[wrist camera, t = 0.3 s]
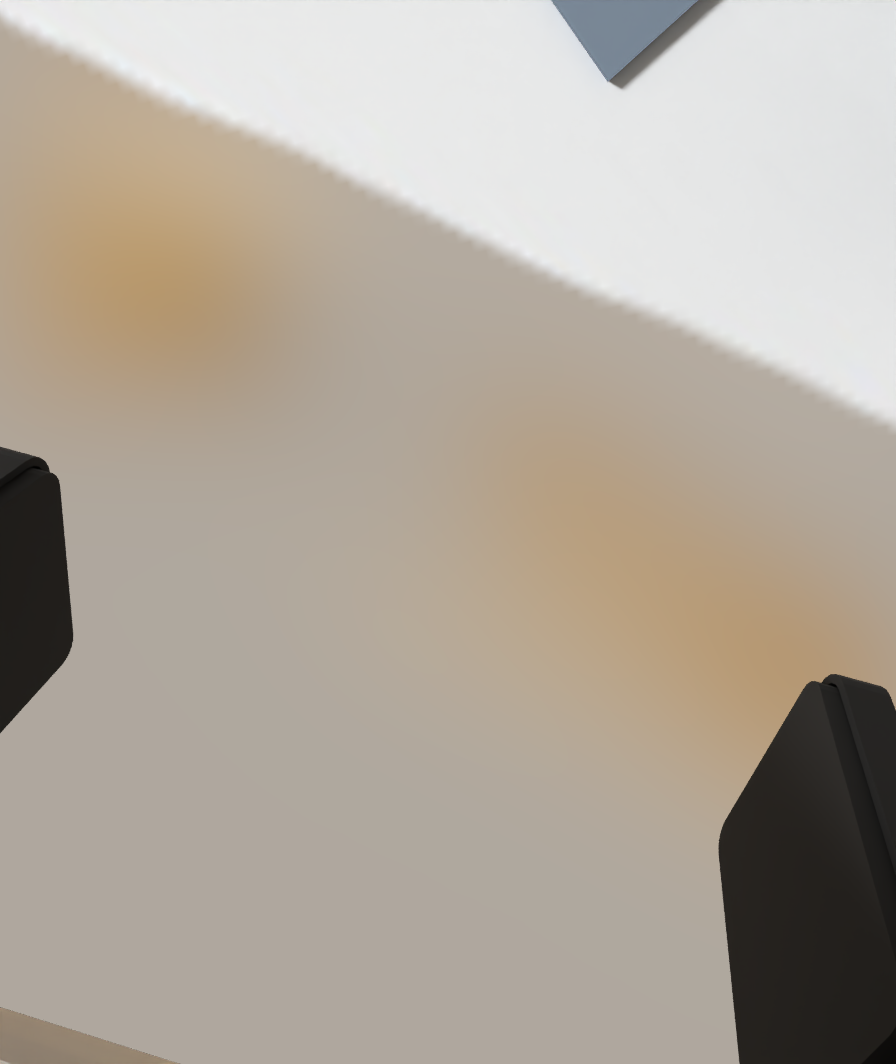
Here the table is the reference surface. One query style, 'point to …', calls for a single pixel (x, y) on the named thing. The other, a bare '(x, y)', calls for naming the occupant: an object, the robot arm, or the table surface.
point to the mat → (619, 27)
